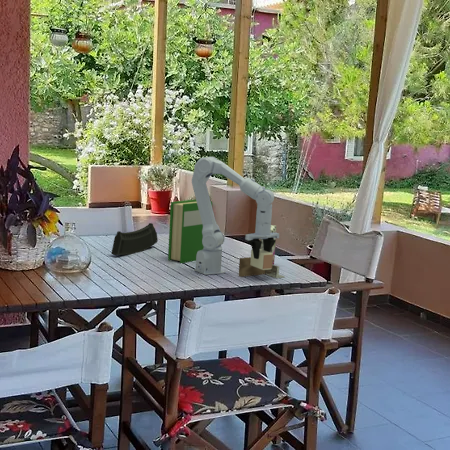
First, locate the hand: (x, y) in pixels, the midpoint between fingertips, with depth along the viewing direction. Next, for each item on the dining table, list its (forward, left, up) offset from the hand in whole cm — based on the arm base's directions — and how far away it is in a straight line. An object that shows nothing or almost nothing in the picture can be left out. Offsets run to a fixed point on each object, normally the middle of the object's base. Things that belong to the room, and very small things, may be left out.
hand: (261, 258), depth 257 cm
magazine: (-22, +58, -8) cm, 62 cm away
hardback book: (-8, +38, -8) cm, 39 cm away
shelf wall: (+1, +5, -8) cm, 9 cm away
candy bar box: (+15, +15, -8) cm, 23 cm away
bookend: (+8, +1, -8) cm, 11 cm away
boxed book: (0, 0, -3) cm, 3 cm away
